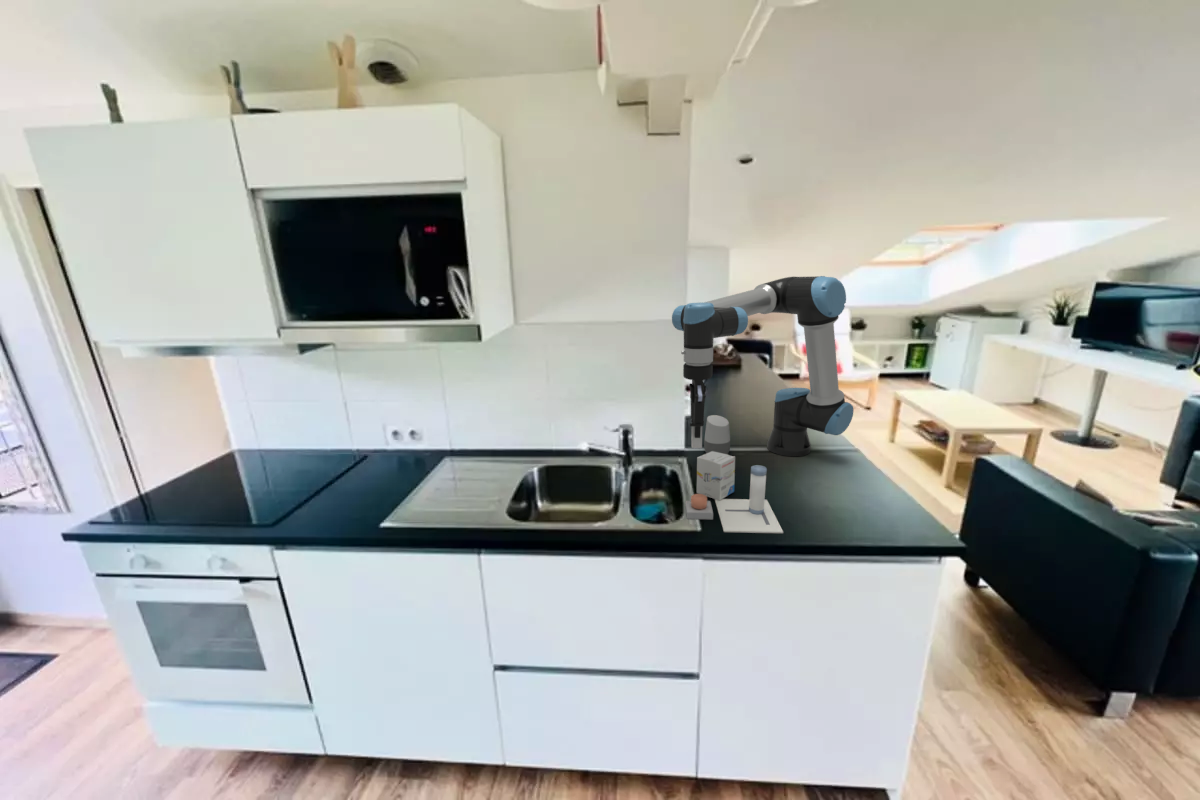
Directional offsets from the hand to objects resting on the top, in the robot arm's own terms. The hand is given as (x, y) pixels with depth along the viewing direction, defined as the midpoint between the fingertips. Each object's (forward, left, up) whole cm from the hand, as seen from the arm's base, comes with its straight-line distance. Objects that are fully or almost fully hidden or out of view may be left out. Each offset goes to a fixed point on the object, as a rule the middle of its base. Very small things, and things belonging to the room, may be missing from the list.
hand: (696, 447), depth 133 cm
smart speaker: (-43, +12, -20) cm, 49 cm away
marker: (0, +17, -19) cm, 25 cm away
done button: (+1, +1, -19) cm, 19 cm away
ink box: (-11, +7, -19) cm, 23 cm away
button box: (+1, +1, -19) cm, 19 cm away
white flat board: (+2, +14, -19) cm, 24 cm away
